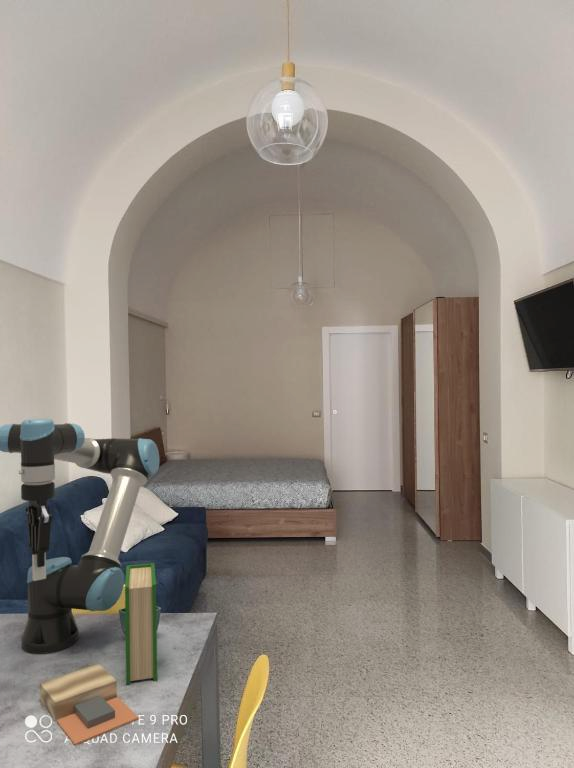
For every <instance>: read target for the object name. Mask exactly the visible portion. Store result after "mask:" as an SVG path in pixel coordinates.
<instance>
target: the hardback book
mask: <svg viewBox="0 0 574 768" xmlns="http://www.w3.org/2000/svg"><path fill="white" fill-rule="evenodd" d="M125 567H126V569H125V579H124V608H125V630H126V637H125V686H131V682H133V681H140V680H147V679H148V680H149V679H153V683H155V682H154V681H156V682H158V640H157V638H158V636H157V635H158V634H157V633H158V629H157V622H156V606H157V582H156V581H157V580H156V566H155V563H154V562H153V563H142V564H141V563H139V564H129V565H128V564H127V565H126V566H125Z"/></svg>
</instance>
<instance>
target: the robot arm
mask: <svg viewBox="0 0 574 768" xmlns="http://www.w3.org/2000/svg"><path fill="white" fill-rule="evenodd" d="M0 452H3V453H9V454H13V453H14V454H15V453H16V454H17V453H18V454H20V458H21V459H20V461H21V462H20V470H19V471H18V474H19V475H20V479H21V480H20V481H21V482H22V484H21V486H20V487H21V488H20V494H21V495H20V497H21V498H20V499H21V500H23V501H26V502H27V501H28V506H27V507H26V508H25V509H24V511H25V514H26V515H25V516H26V522H27V537H28V547H29V549H30V550H31V552H30V553H31V557H32V558H31V562H32V564H31V566H30V567H29V568H28V570H27V580H26V583H27V584H26V586H27V621H26V623H25V627H24V631H23V634H22V636H21V649H22V650H23V651H24V652H26V653H29V654H30V653H31V654H41V655H42V654H49V653H50V654H51V653H55V652H58V651H62V650H64V649H67V648H70V647H71V646H73V645H74V644H75V643H76V642H77V641H79V638H78V637H79V627H78V625H77V621H76V619H75V617H74V614H73V610H82V611H83V610H84V611H89V612H105V611H108V610H110V609H111V608H112V607H114V606H115V605H116V604H117V603H118V602H119V599H120V598H121V595H122V594H123V590H124V588H125V573H124V571H123V570H122V569H121V568H122V564H121V562H120V560H119V557H120V554H121V550H122V548H123V543H124V541H125V537H126V534H127V531H128V528H129V524H130V520H131V518H132V515H133V511H134V509H135V505H136V502H137V499H138V495H139V493H140V489H141V487H143V486H144V485H147V483H148V479H149V476H151V477H152V476H154V475H156V474H157V473H158V471H159V469H160V454H159V453H160V452H159V449H158V445H157V444H156V443H155V441H153V440H152V439H150V438H149V439H148V438H141V437H140V438H114V437H113V438H112V437H111V438H90V437H85V431H84V430H83V428H82V427H81V426H80V425H78V424H76V423H70V422H68V423H64V424H63V423H61V424H59V423H57V424H56V423H54V420H53V419H52V418H32V419H31V418H29V419H28V418H27V419H24V420H23V421H22V422H21V423H20V424H18V423H11V424H3V425H1V426H0ZM55 460H56V461H62V462H67V463H72V464H75V465H76V466H77V467H79V468H81V469H86V470H90V471H93V472H99V473H103V474H107V475H108V474H109V475H110V476H111V478H112V483H111V485H110V489H109V492H108V495H107V497H106V500H105V503H104V506H103V509H102V512H101V514H100V517H99V521H98V524H97V527H96V529H95V532H94V535H93V538H92V541H91V544H90V548H89V550H88V552H85V553H84V554H82V555H81V557H80V560H79V561H78V564H76V565H75V564H72V563H73V561H72V558H70V557H68V556H60V557H53V558H49V559H47V555H46V554H47V552H49V550H50V541H51V539H50V538H51V525H52V524H51V523H52V519H53V514H52V513H50V506H49V505H48V500H49V499H50V500H51V499H53V498H54V497H55V496H56V495H55V493H56V492H55V490H56V489H55V482H54V480H55V479H56V478H55V477H56V472H55V470H56V469H55V468H56V467H55V466H56V465H55Z"/></svg>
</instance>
